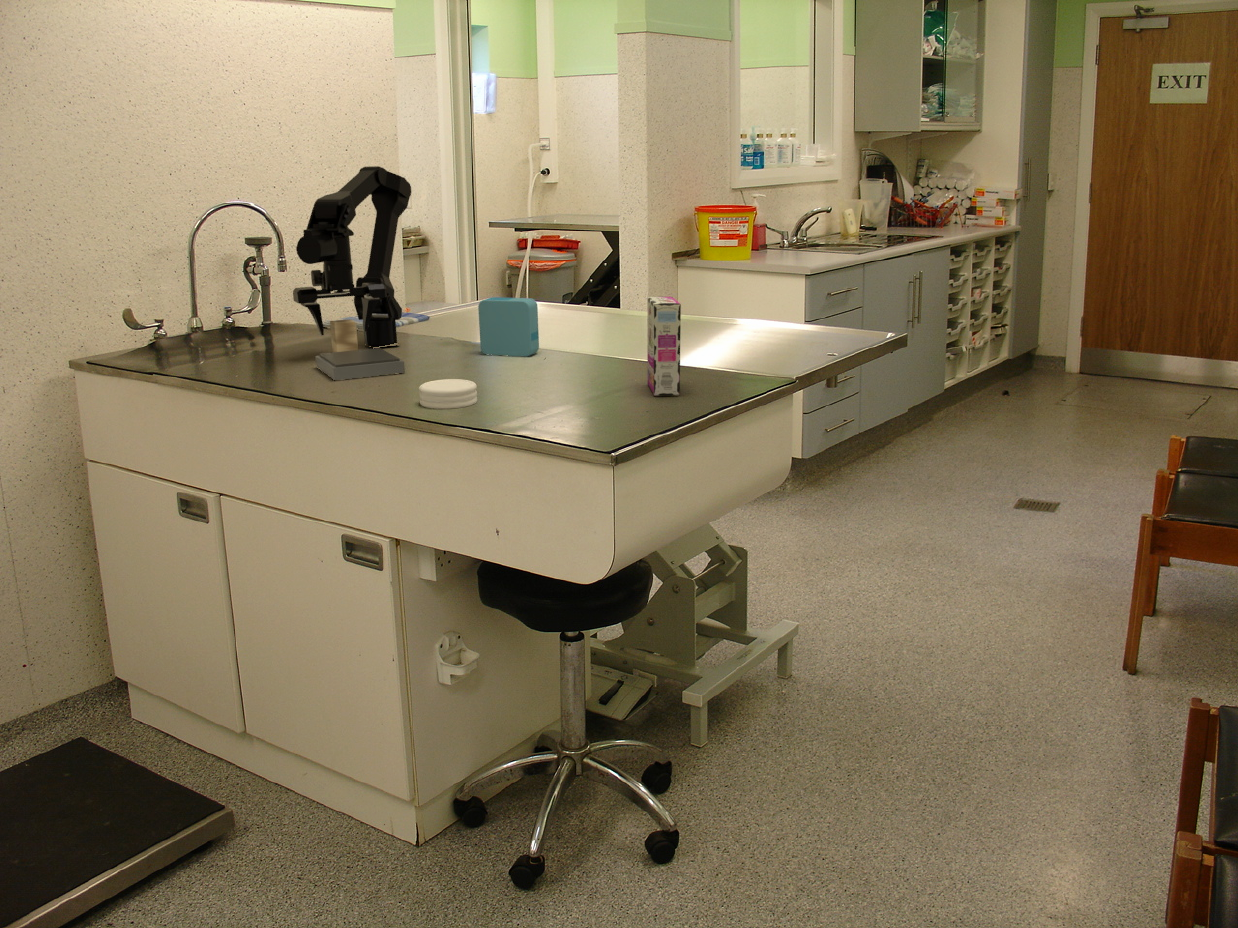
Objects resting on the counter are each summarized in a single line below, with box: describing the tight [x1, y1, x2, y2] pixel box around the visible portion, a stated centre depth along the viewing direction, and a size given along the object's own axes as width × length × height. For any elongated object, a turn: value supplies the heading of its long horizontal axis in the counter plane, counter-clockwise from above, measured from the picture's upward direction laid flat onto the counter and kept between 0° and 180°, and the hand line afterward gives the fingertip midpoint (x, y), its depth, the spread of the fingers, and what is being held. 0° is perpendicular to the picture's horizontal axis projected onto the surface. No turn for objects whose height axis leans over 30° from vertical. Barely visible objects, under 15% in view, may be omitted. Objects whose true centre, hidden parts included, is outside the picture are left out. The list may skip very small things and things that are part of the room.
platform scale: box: [315, 348, 406, 381], centre depth 219 cm, size 14×16×3 cm
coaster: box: [418, 378, 478, 410], centre depth 189 cm, size 10×10×4 cm
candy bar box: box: [646, 296, 682, 397], centre depth 194 cm, size 11×5×16 cm, turn 5°
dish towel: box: [322, 311, 431, 329], centre depth 281 cm, size 17×24×3 cm
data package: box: [477, 296, 540, 358], centre depth 233 cm, size 12×4×12 cm, turn 71°
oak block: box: [329, 319, 359, 353], centre depth 232 cm, size 4×4×8 cm
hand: (343, 333), depth 232 cm, fingers open, 9 cm apart
